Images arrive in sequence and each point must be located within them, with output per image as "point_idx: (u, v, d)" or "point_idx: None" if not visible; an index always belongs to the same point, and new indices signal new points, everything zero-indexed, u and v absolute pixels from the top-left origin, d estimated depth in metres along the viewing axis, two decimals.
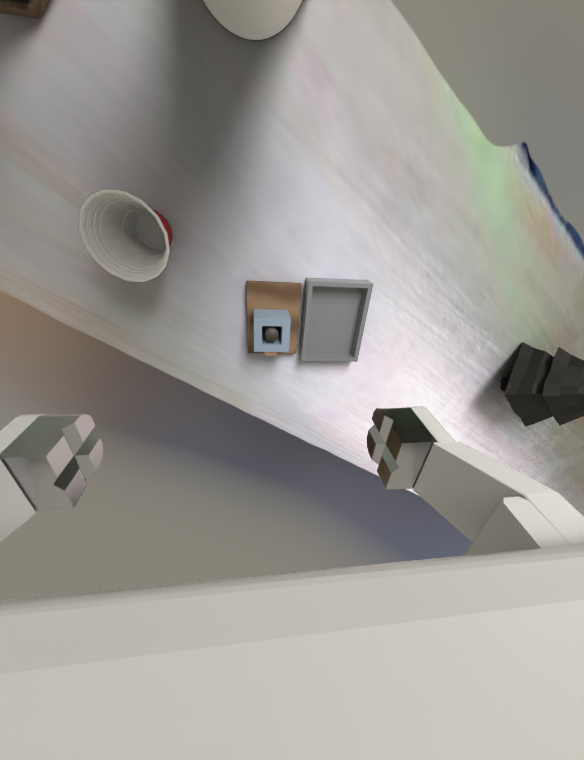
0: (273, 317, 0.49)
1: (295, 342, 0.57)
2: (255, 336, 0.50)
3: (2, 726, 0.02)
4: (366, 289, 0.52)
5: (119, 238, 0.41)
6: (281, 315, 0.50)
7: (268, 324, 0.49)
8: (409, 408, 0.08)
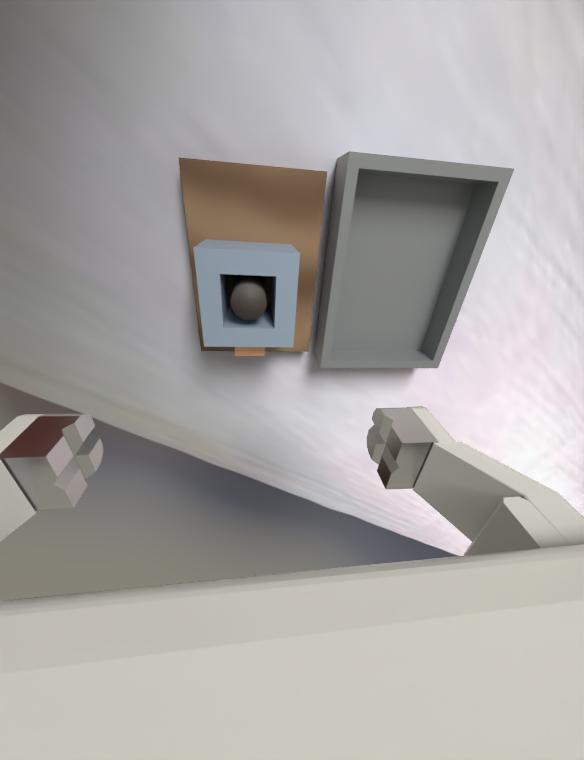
0: (251, 250, 0.18)
1: (307, 326, 0.26)
2: (204, 304, 0.19)
3: (2, 726, 0.02)
4: (489, 188, 0.21)
5: None
6: (274, 248, 0.19)
7: (237, 269, 0.18)
8: (409, 408, 0.08)
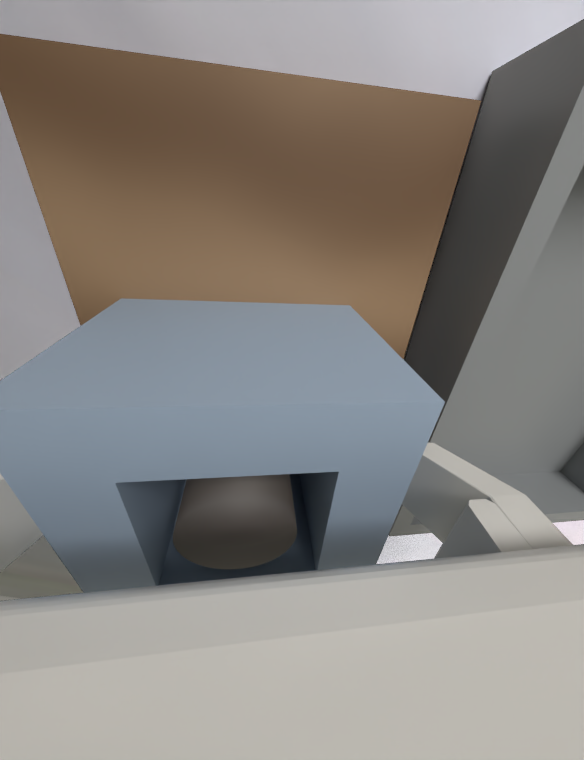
0: (243, 390, 0.04)
1: None
2: (76, 557, 0.05)
3: (2, 726, 0.02)
4: None
5: None
6: (324, 354, 0.05)
7: (187, 466, 0.04)
8: None
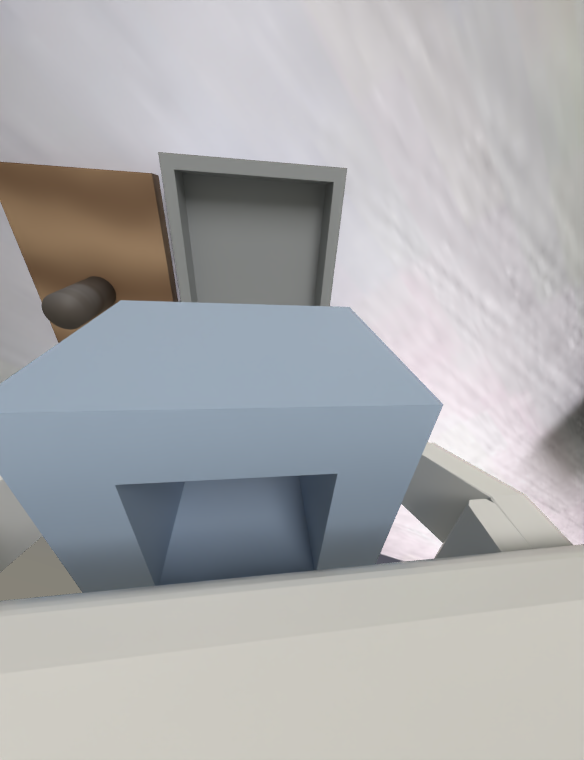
0: (243, 393, 0.04)
1: None
2: (76, 559, 0.05)
3: (2, 726, 0.02)
4: (330, 189, 0.20)
5: None
6: (323, 356, 0.05)
7: (187, 468, 0.04)
8: None
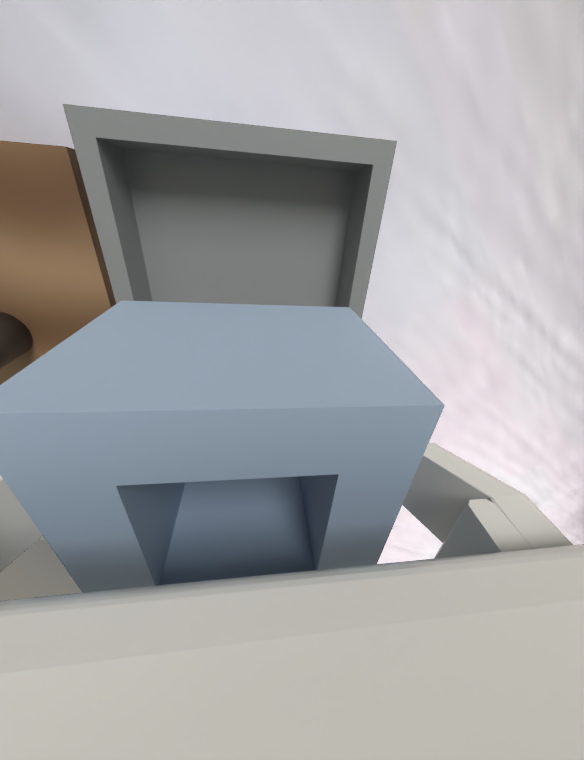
0: (244, 394, 0.04)
1: None
2: (77, 560, 0.05)
3: (2, 726, 0.02)
4: (365, 177, 0.12)
5: None
6: (324, 357, 0.05)
7: (188, 469, 0.04)
8: None
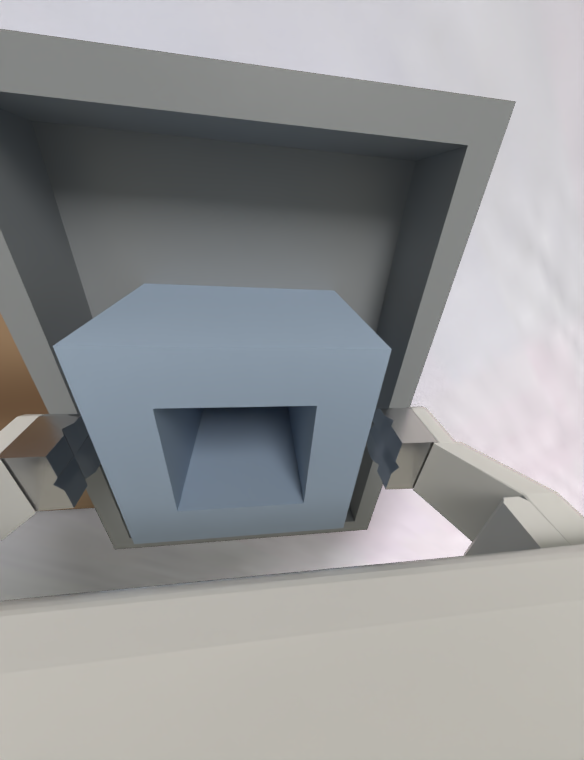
0: (246, 340, 0.06)
1: None
2: (118, 475, 0.07)
3: (2, 726, 0.02)
4: (444, 169, 0.07)
5: None
6: (307, 321, 0.07)
7: (205, 396, 0.06)
8: (409, 408, 0.08)
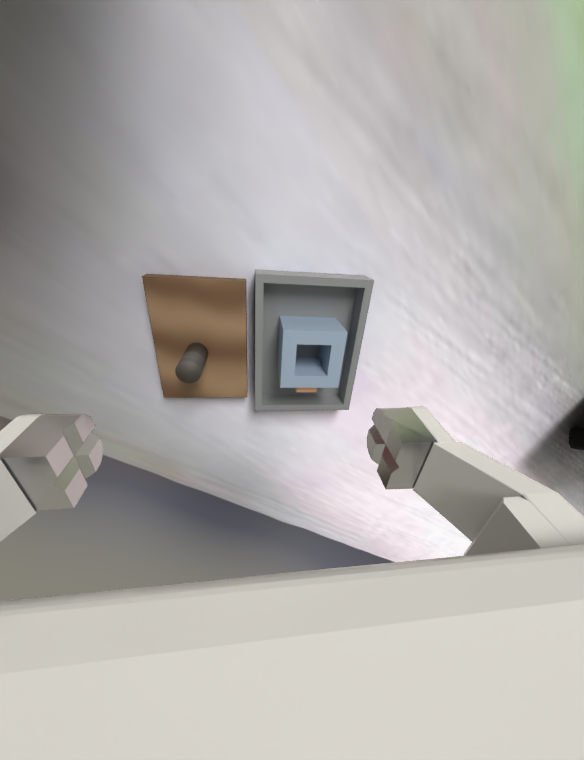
0: (317, 329, 0.28)
1: (244, 379, 0.34)
2: (284, 362, 0.29)
3: (2, 726, 0.02)
4: (362, 290, 0.30)
5: None
6: (329, 326, 0.29)
7: (308, 341, 0.28)
8: (409, 408, 0.08)
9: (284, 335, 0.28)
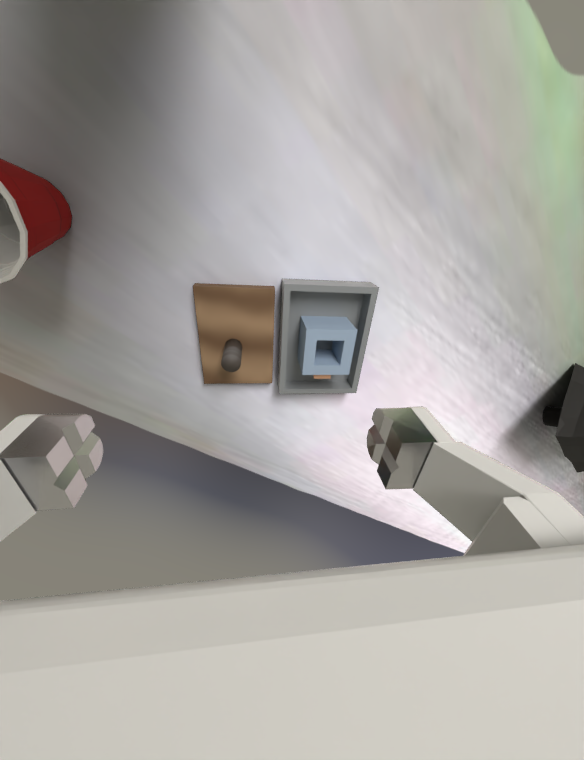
0: (333, 328, 0.35)
1: (270, 368, 0.41)
2: (306, 354, 0.36)
3: (2, 726, 0.02)
4: (369, 295, 0.36)
5: None
6: (342, 325, 0.36)
7: (325, 338, 0.35)
8: (409, 408, 0.08)
9: (307, 333, 0.35)
